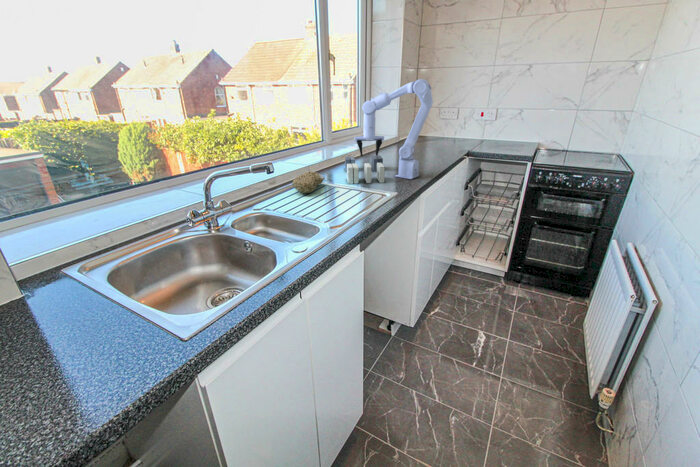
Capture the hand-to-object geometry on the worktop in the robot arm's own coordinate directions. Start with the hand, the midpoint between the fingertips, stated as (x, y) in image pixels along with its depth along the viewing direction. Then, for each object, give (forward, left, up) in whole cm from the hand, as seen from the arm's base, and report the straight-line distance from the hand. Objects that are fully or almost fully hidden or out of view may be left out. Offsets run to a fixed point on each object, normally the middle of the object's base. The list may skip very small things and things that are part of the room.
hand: (369, 155), depth 165 cm
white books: (-6, +12, -9) cm, 16 cm away
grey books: (+8, -7, -9) cm, 14 cm away
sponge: (+5, +38, -10) cm, 40 cm away
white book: (-7, +11, -9) cm, 16 cm away
